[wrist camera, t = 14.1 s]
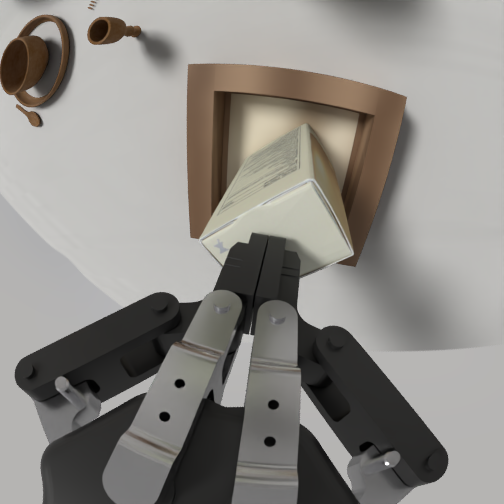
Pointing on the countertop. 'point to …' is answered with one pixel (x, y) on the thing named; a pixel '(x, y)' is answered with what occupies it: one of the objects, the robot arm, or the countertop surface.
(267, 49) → the countertop surface
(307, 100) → the socket block
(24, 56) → the place setting
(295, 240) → the skincare box
